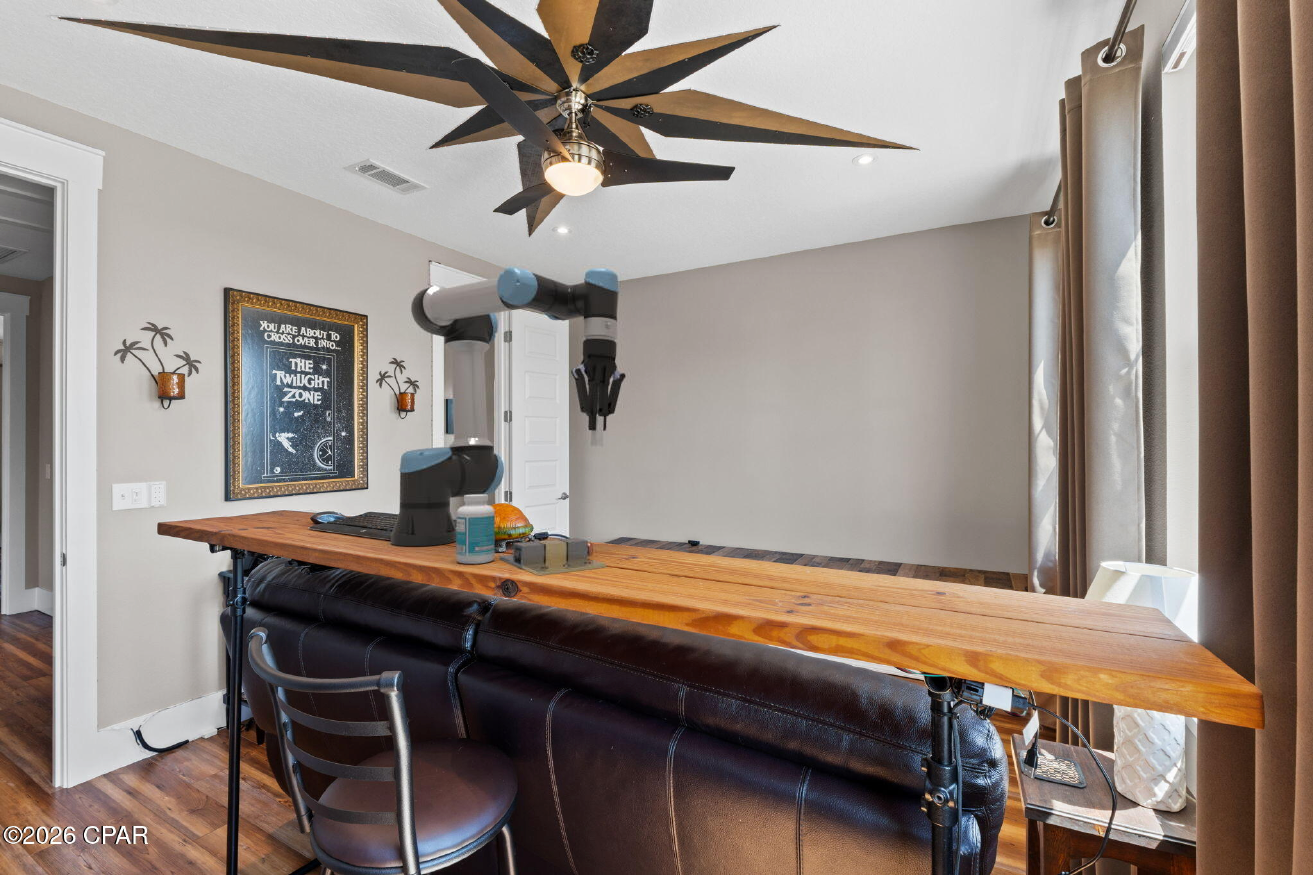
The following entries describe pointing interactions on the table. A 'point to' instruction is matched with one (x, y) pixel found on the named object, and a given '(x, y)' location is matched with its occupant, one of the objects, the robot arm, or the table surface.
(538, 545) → the three blocks on plate
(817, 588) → the table surface
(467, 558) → the pill bottle
